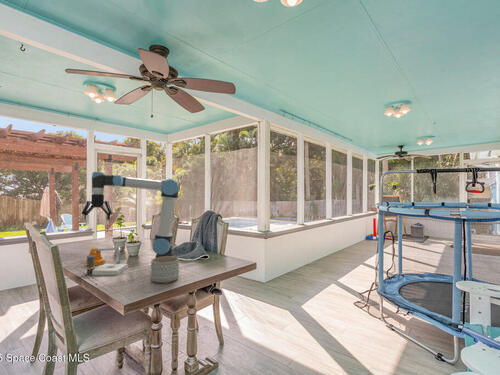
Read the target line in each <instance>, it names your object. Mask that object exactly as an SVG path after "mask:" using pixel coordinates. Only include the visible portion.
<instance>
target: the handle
mask: <svg viewBox="0 0 500 375" xmlns="http://www.w3.org/2000/svg"><path fill="white" fill-rule="evenodd" d="M96 251H101V252H103V251H104V252H105V251H115V253H116V254H115V262H116V263H115V264H121V263H120V261H121V246H117V247H106V248H98V249H95V252H96Z"/></svg>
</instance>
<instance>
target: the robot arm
mask: <svg viewBox="0 0 500 375" xmlns="http://www.w3.org/2000/svg"><path fill="white" fill-rule="evenodd" d="M105 186H107V187H108V186H110V187H121V188H132V189H133V188H134V189H141V190H149V191H150V190H151V191H159V192H161V194H160V197H161V199H162V201H161V208H160V213H159V214H160V216H159V221H158V229H157V232H156V233H155V235H154V239H153V240H154V241H153V243H152V250H153V252H154V253H155V257H154V258H158V257H165V256H173V257H175V256H174V253H173V248H174V247H173V243H174V242H173V240H174V239H173V238H174V234H173V233H172V232H171V229H172V224H173V215H174V209H175V201H176V200H178V197H179V192H180V190H181V185H180V182H178V180H176V179H174V178H167V179H162V180H154V179H145V178H138V177H129V176H123V175H120V174H105V172H103V171H93V172H92V174H91V197H90V198H91V200H87V201H86V203H85V206H84V208H83V210H82V212H81V215H84V220H85V225H86V226H87V225H90V215H89V214H90V213H91V212H92V211H93V209H95V208H98V209H99V208H100V209H101V210H102V211H103V213H105V214H106V215H105V226H107V225H108V226H109V223H110V220H111V216H112V215H113V214H114V212H113V210H112V208H111V206H110V203H109V200H105V195H104V194H105Z"/></svg>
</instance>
